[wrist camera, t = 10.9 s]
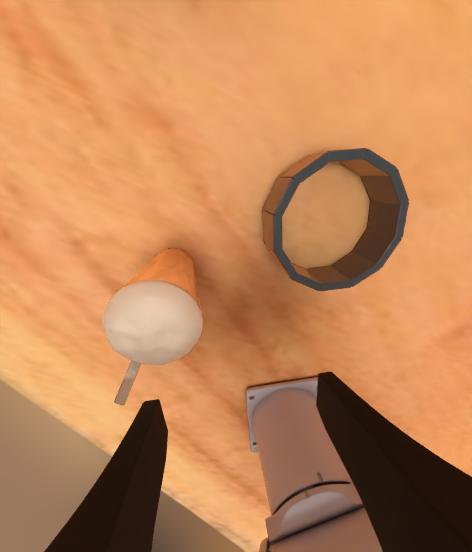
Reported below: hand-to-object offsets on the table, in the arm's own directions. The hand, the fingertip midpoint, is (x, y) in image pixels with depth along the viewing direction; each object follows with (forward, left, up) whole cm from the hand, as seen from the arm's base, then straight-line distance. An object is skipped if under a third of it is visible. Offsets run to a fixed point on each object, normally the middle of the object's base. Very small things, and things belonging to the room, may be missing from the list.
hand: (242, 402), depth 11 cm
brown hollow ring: (+6, -8, -10) cm, 14 cm away
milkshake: (+3, +4, -11) cm, 12 cm away
